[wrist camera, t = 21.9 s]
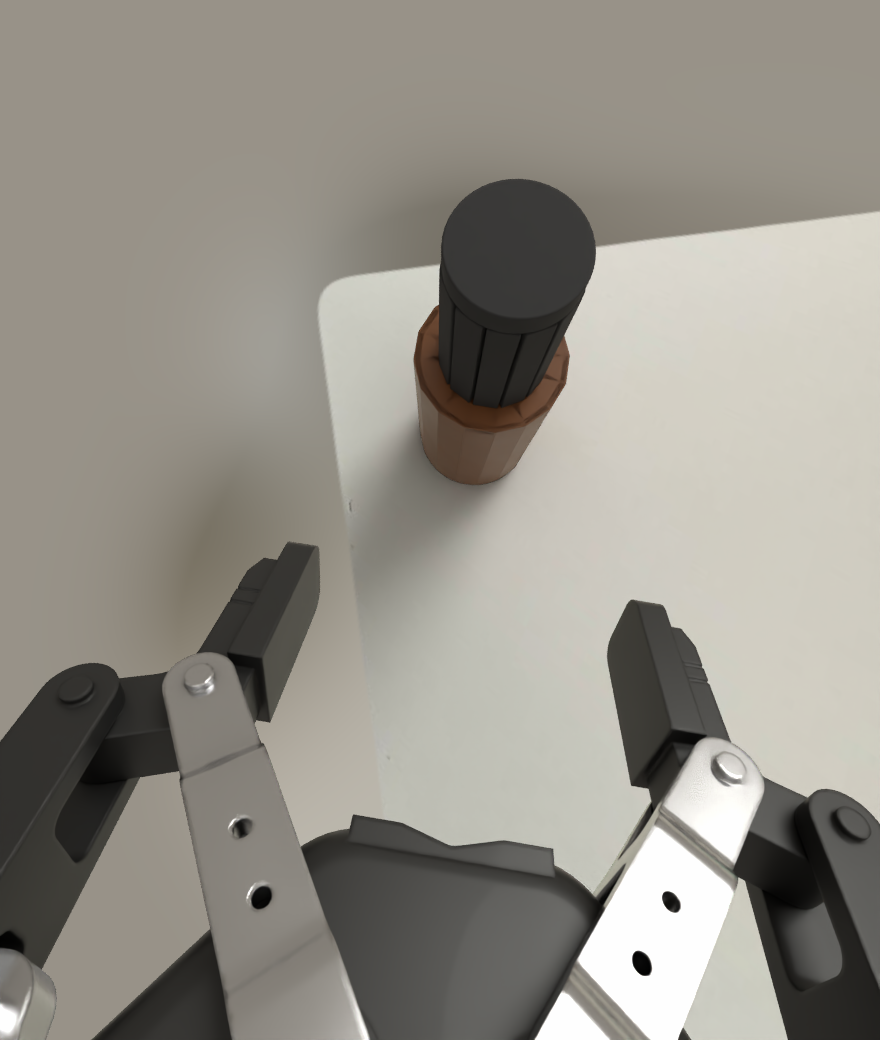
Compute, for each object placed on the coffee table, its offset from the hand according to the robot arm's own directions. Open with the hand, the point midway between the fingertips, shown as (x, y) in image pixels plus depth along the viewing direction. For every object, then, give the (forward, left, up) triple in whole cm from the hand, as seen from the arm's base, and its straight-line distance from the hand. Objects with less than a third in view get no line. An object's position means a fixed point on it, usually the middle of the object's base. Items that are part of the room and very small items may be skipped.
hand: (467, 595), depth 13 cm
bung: (+12, 0, -10) cm, 16 cm away
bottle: (+12, 0, -22) cm, 25 cm away
